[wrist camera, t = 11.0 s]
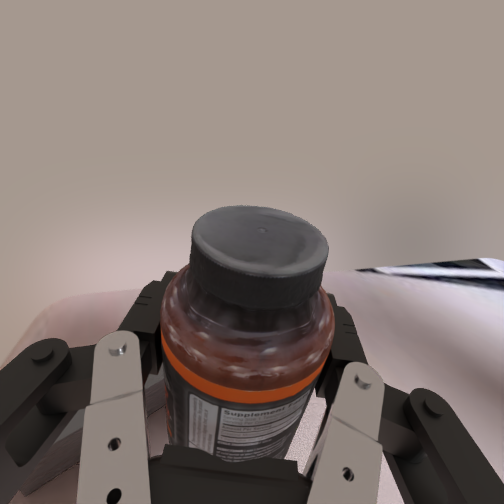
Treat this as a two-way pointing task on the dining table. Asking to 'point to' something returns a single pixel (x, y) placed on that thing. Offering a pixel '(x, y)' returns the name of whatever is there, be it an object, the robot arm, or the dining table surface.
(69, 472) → the dining table surface
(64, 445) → the rail
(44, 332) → the dining table surface
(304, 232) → the supplement bottle
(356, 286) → the dining table surface
